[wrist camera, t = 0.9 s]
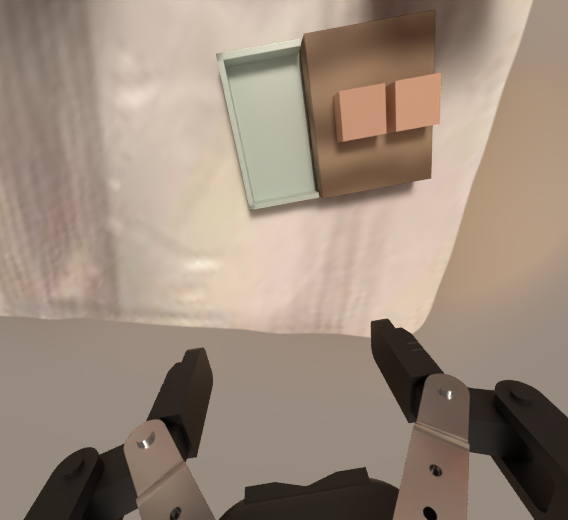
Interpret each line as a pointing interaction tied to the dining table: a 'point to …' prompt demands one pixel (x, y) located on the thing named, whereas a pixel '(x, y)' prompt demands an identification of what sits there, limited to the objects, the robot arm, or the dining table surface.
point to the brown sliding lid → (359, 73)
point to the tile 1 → (360, 112)
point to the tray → (269, 122)
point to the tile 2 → (413, 103)
